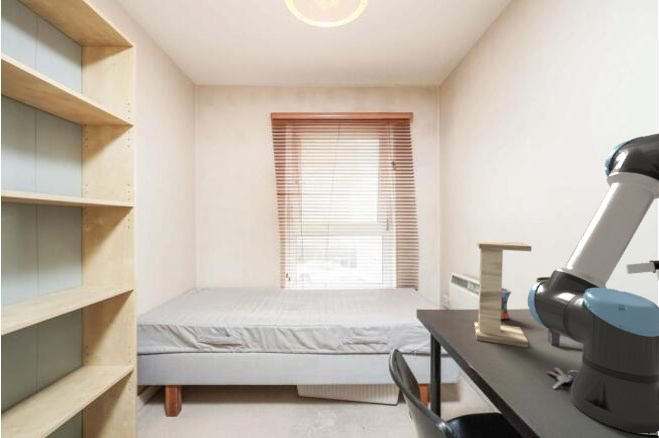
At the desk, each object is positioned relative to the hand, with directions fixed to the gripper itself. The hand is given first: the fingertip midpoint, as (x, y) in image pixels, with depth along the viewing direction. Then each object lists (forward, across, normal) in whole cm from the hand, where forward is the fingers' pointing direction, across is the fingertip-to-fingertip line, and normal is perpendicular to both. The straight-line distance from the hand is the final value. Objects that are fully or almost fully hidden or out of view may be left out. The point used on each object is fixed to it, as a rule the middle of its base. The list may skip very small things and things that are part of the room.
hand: (641, 272), depth 91 cm
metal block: (+14, +4, -22) cm, 26 cm away
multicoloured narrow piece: (+34, +28, -17) cm, 48 cm away
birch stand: (+38, +5, -17) cm, 42 cm away
